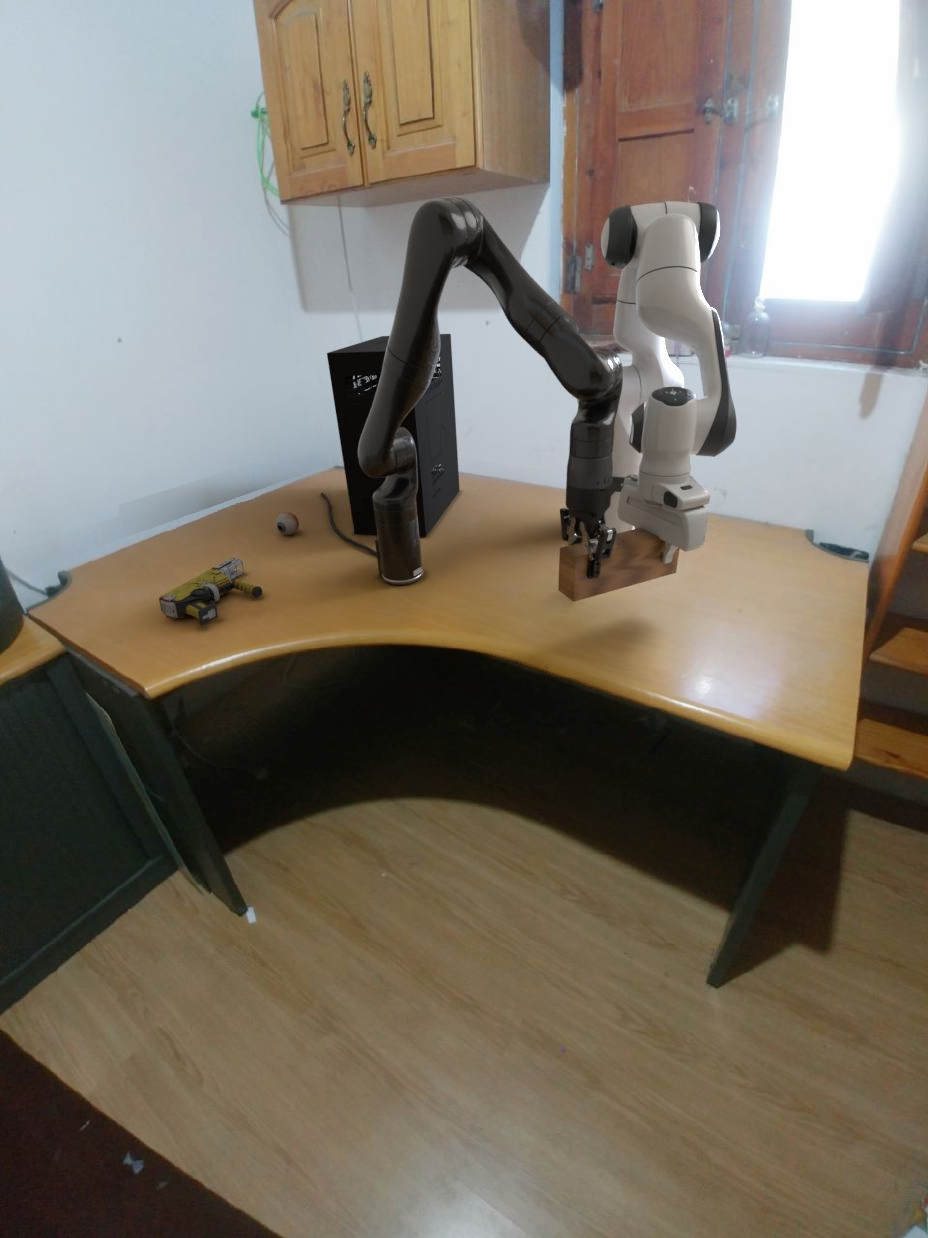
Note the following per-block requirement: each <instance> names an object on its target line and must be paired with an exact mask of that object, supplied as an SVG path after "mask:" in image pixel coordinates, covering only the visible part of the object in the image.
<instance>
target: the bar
mask: <svg viewBox="0 0 928 1238" xmlns="http://www.w3.org/2000/svg"><path fill="white" fill-rule="evenodd" d="M596 540H597V538H594V539H590V542H592V541H596ZM596 548H597V546H594V547H593V550H594V553H595V552H596ZM666 549H667V547H665V541H663V540H661V539H659V537H658V536H656V535H654V534H652V533H650V532H648V531H646V530H644V529H642V528H638V529H634V530H630V531H626V532H622V533H616V537H615V541H614V545H613V549H612V553H611V556H610V558H608V559H603V560H601V569H600V575H599V577H597V578H594V579H589V578H588V577H587V569H588V559H589V557H588V551H587V548H586V547H585V546H584V542H581V543H577V544H573V545H566V546H561V547H559V554H558V555H559V557H558V558H559V559H558V560H559V561H558V583H557V585H558V586H557V591H558V592H560V593H561V594H562V595H563V596H565V597H566V598H567V599H569V600H571V602H577V601H582V600H585V599H589V598H592V597H596V596H599V595H603V594H606V593H610V592H613V591H617V590H620V589H624V588H627V587H631V586H634V585H638V584H642V583H646V582H648V581H652V580H655V579H659V578H662V577H666V576H669V575H673V574H676V573H677V568H678V561H679V555H680V549H679V548H678V549H677V550H676V551H675V552H674V553H673V558H672V561H671V562H670V563H667V564H666V563H664V562H662V561H660V553H661V552H665V550H666ZM603 551H604V552H605V550H603Z"/></svg>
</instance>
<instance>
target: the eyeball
mask: <svg viewBox="0 0 928 1238" xmlns="http://www.w3.org/2000/svg"><path fill="white" fill-rule="evenodd" d="M299 525H300V522H299V519H298V517H297V516H296V515H295V514H294V513H292V512H287V511H286V512H282V513H280V514H279V515H278V516H277V517H276V520H275V527H276V529H277V530H278V531H279V532H280V533H281V534H282V535H285V536H286V535H287V536H289V535H293V534H295V533H296V532H297V531H298V529H299Z"/></svg>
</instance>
